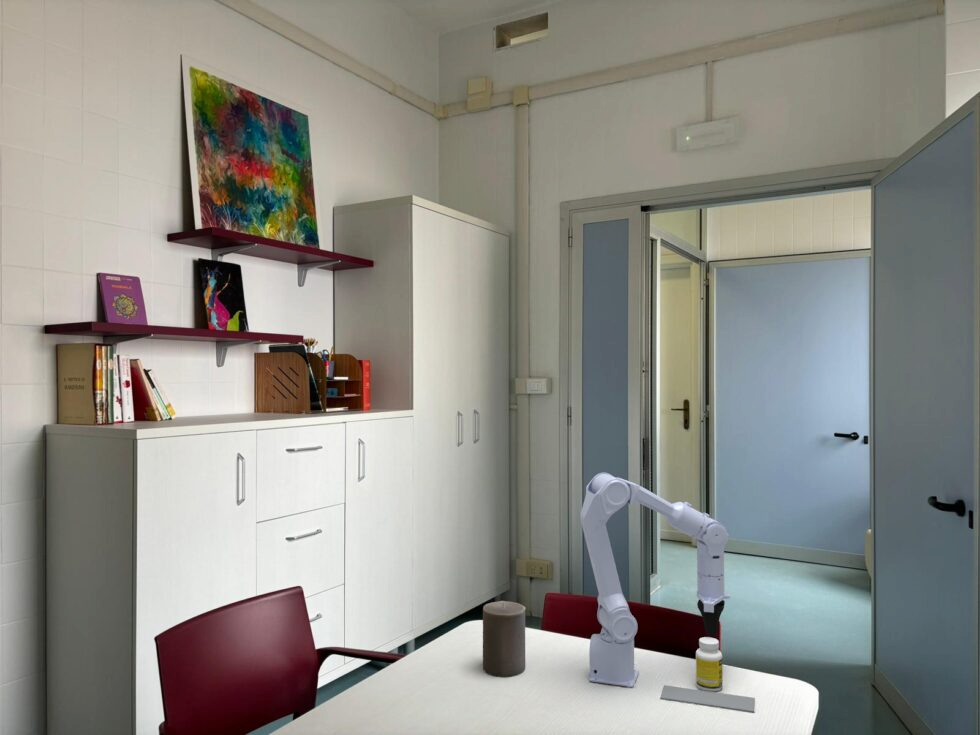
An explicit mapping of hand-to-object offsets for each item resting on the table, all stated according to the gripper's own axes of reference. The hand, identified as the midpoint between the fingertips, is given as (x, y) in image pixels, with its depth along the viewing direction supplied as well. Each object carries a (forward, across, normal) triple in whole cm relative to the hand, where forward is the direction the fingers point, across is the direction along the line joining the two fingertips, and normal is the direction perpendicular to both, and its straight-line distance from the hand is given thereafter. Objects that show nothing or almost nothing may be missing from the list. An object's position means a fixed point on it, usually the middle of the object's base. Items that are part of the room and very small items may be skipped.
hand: (711, 634), depth 160 cm
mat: (+8, -15, 0) cm, 17 cm away
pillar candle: (+8, -14, +44) cm, 47 cm away
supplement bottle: (+8, -9, 0) cm, 12 cm away
